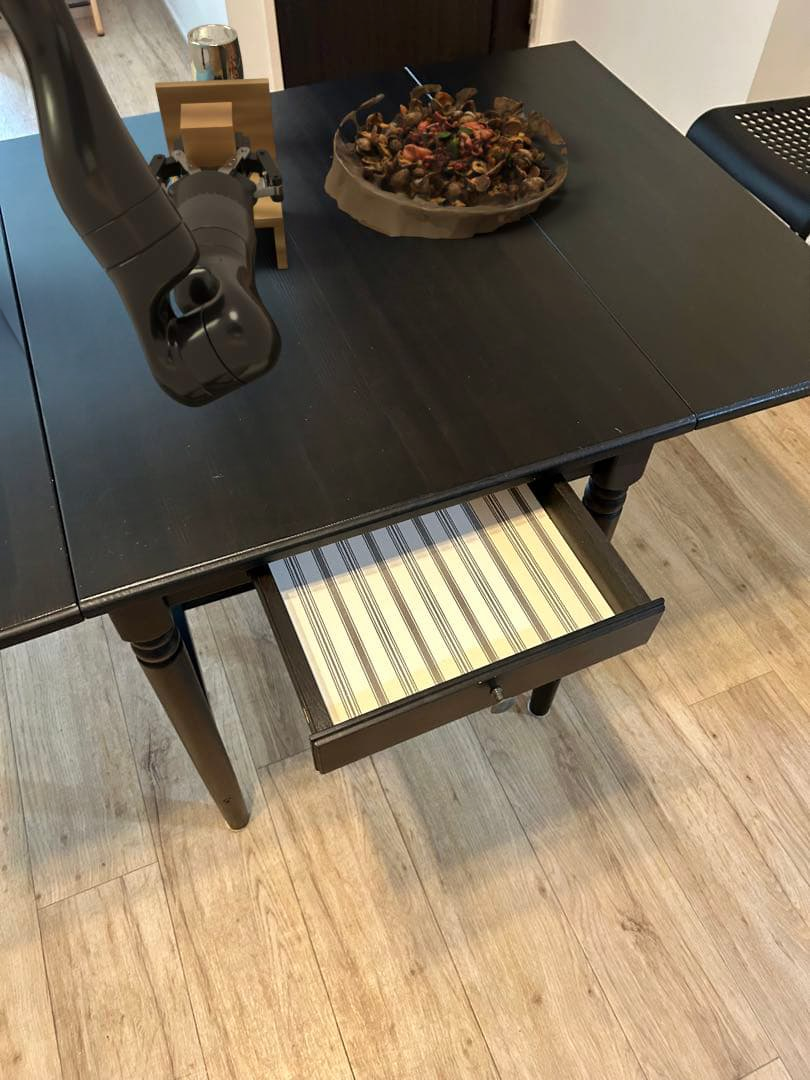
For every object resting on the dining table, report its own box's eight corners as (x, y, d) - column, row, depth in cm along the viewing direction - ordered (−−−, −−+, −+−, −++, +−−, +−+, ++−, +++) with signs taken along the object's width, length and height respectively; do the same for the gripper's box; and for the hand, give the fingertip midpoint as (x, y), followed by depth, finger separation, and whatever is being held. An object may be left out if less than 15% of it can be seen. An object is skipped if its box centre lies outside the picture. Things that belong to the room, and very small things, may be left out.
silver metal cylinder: (218, 131, 123) (201, 19, 111) (260, 140, 121) (248, 28, 109) (195, 153, 119) (175, 40, 107) (239, 162, 117) (224, 49, 105)
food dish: (473, 102, 132) (480, 50, 126) (611, 203, 116) (626, 148, 110) (279, 151, 119) (276, 95, 113) (404, 271, 103) (408, 214, 97)
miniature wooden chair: (287, 268, 102) (274, 132, 89) (181, 275, 101) (151, 138, 88) (281, 211, 110) (268, 77, 97) (182, 216, 109) (155, 82, 95)
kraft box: (245, 220, 88) (232, 126, 80) (197, 222, 87) (180, 128, 79) (244, 195, 91) (231, 101, 83) (198, 197, 90) (181, 103, 82)
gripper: (288, 191, 74) (278, 101, 84) (123, 199, 72) (133, 107, 82) (295, 264, 79) (284, 172, 90) (143, 273, 78) (150, 179, 88)
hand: (212, 141), depth 86 cm, fingers closed on kraft box, 5 cm apart
